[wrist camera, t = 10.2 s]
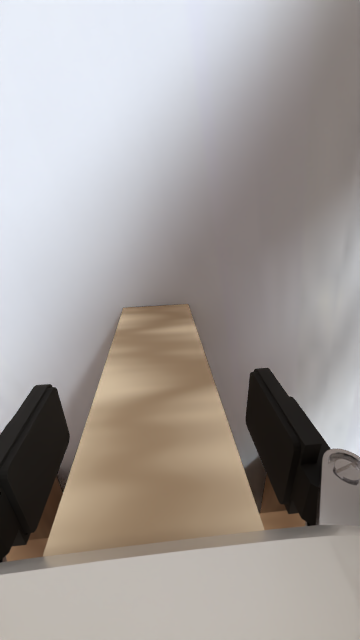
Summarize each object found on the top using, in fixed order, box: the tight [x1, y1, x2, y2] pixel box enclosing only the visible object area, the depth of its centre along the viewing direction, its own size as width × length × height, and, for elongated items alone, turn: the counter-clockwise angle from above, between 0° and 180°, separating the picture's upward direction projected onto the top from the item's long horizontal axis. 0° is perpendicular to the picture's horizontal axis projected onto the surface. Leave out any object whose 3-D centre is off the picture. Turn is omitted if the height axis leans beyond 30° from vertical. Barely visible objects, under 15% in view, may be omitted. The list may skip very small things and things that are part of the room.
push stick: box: [43, 304, 264, 557], centre depth 13 cm, size 13×23×16 cm, turn 2°
